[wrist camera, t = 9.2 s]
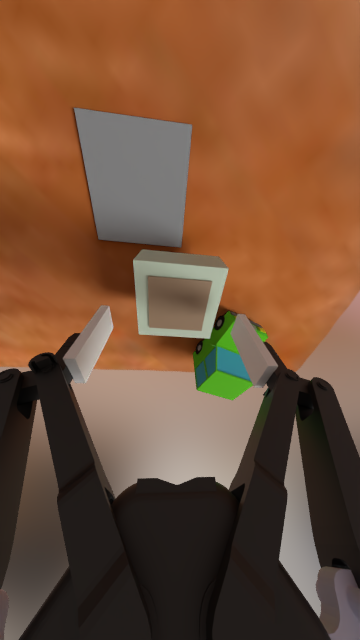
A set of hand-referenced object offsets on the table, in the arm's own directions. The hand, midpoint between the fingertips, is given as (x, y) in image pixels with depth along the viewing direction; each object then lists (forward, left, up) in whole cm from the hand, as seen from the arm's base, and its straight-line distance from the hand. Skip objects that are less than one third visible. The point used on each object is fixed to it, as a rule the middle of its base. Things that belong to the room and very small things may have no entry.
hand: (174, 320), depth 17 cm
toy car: (+11, -12, -13) cm, 21 cm away
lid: (0, 0, -8) cm, 8 cm away
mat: (-6, +11, -12) cm, 17 cm away
